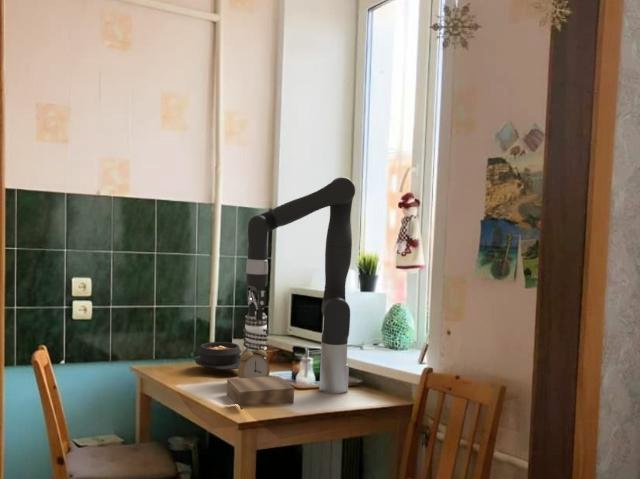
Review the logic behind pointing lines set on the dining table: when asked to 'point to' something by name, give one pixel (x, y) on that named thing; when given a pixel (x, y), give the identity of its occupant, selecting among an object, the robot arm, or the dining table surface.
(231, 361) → the casserole
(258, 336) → the decorative candle
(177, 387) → the dining table surface
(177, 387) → the dining table surface
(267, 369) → the alarm clock
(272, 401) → the walnut block
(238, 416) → the dining table surface
